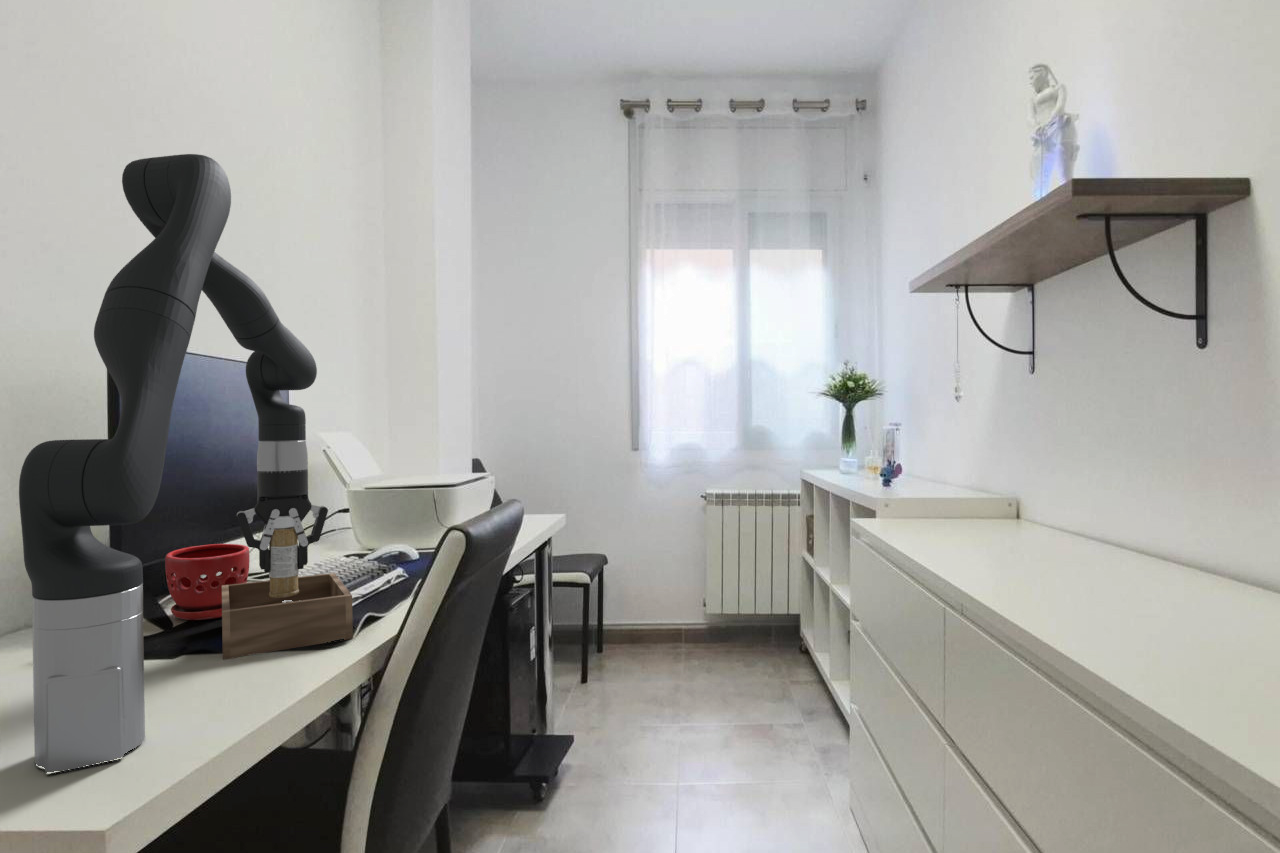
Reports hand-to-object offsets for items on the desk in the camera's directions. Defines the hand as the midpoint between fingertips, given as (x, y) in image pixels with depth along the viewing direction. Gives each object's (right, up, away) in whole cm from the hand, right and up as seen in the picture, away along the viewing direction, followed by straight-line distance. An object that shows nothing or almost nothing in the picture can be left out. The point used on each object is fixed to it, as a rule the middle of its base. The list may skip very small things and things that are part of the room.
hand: (284, 569), depth 115 cm
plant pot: (-20, -11, +11) cm, 25 cm away
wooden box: (0, -10, 0) cm, 10 cm away
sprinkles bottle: (0, -4, 0) cm, 4 cm away
